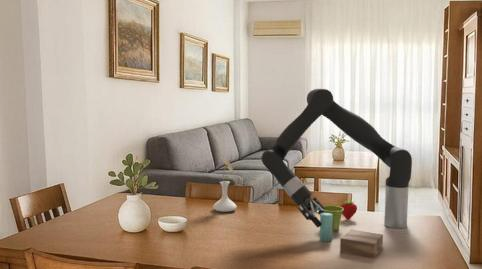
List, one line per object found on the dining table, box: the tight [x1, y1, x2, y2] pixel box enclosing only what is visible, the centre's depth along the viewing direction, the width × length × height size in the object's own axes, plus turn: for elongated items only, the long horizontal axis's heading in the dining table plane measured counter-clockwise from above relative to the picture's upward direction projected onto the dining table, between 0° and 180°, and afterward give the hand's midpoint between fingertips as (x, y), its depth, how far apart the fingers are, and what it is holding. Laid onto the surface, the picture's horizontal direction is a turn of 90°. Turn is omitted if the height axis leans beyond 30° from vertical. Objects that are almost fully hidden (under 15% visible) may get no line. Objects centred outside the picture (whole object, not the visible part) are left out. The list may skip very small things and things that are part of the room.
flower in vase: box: [212, 157, 238, 213], centre depth 221 cm, size 13×11×25 cm
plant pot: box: [323, 204, 344, 232], centre depth 193 cm, size 9×9×9 cm
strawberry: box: [339, 200, 358, 221], centre depth 206 cm, size 6×8×10 cm
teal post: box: [319, 213, 333, 243], centre depth 179 cm, size 5×5×10 cm
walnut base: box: [339, 229, 384, 259], centre depth 168 cm, size 12×12×5 cm
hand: (324, 223), depth 179 cm, fingers open, 8 cm apart
